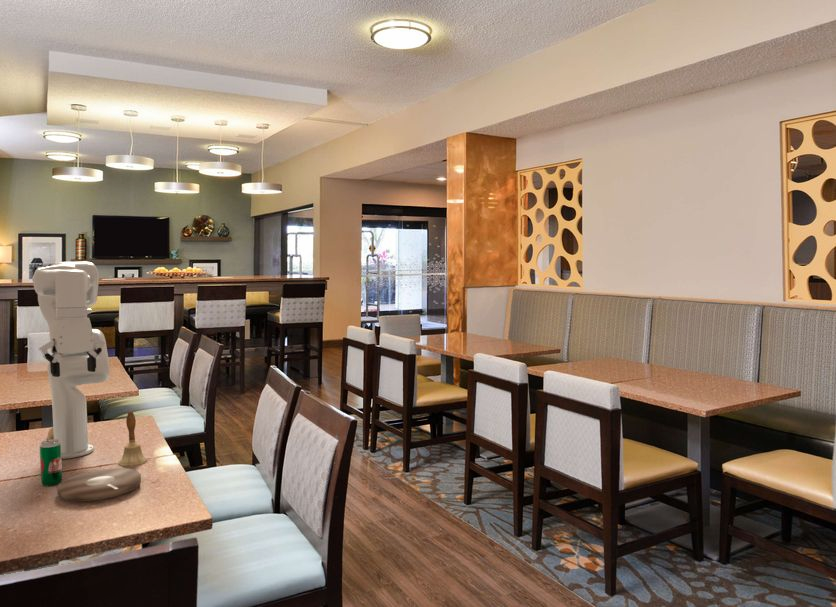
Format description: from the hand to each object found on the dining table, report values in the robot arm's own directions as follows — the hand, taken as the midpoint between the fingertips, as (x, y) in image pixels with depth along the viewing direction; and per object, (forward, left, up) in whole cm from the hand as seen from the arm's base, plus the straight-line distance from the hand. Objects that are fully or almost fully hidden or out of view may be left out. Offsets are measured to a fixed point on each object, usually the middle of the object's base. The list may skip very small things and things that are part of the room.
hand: (74, 373), depth 171 cm
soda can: (-1, -7, -30) cm, 31 cm away
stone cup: (-43, +14, -30) cm, 54 cm away
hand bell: (-1, +16, -30) cm, 34 cm away
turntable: (+15, -1, -29) cm, 33 cm away
